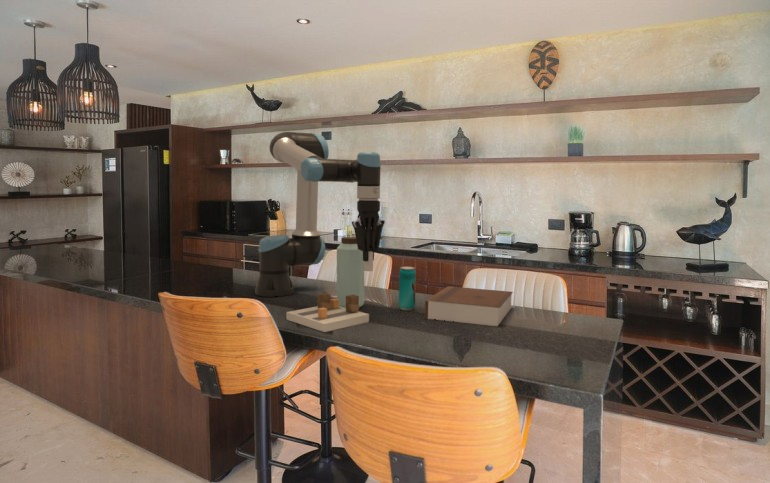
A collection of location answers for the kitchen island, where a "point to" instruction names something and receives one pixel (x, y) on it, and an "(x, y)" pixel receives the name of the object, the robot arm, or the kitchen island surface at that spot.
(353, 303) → the tab
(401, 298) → the beverage can
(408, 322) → the kitchen island surface
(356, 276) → the water bottle
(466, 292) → the book
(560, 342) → the kitchen island surface
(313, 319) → the switch board
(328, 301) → the tab
